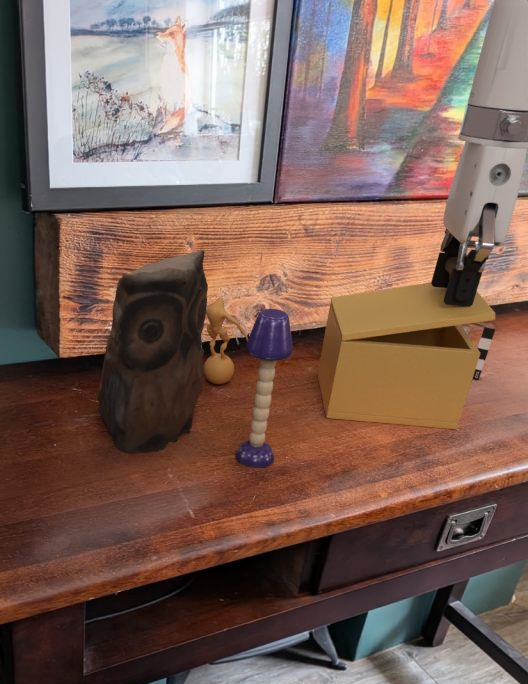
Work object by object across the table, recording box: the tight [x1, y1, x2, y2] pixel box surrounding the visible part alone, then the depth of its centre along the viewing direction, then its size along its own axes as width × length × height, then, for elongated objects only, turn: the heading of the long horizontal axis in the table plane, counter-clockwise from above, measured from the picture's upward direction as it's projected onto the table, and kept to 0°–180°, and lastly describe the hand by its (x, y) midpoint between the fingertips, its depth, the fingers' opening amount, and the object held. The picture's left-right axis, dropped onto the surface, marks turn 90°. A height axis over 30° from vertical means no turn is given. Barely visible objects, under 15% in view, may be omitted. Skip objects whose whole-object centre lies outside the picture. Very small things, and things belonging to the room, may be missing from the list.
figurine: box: [203, 296, 249, 385], centre depth 95 cm, size 8×6×12 cm
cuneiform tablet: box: [461, 324, 496, 381], centre depth 106 cm, size 7×4×12 cm
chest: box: [317, 303, 480, 430], centre depth 94 cm, size 16×14×10 cm
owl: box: [96, 249, 209, 455], centre depth 81 cm, size 13×13×20 cm
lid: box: [330, 257, 496, 341], centre depth 89 cm, size 17×14×5 cm
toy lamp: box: [235, 308, 293, 469], centre depth 78 cm, size 5×5×17 cm
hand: (450, 294), depth 89 cm, fingers closed on lid, 6 cm apart
